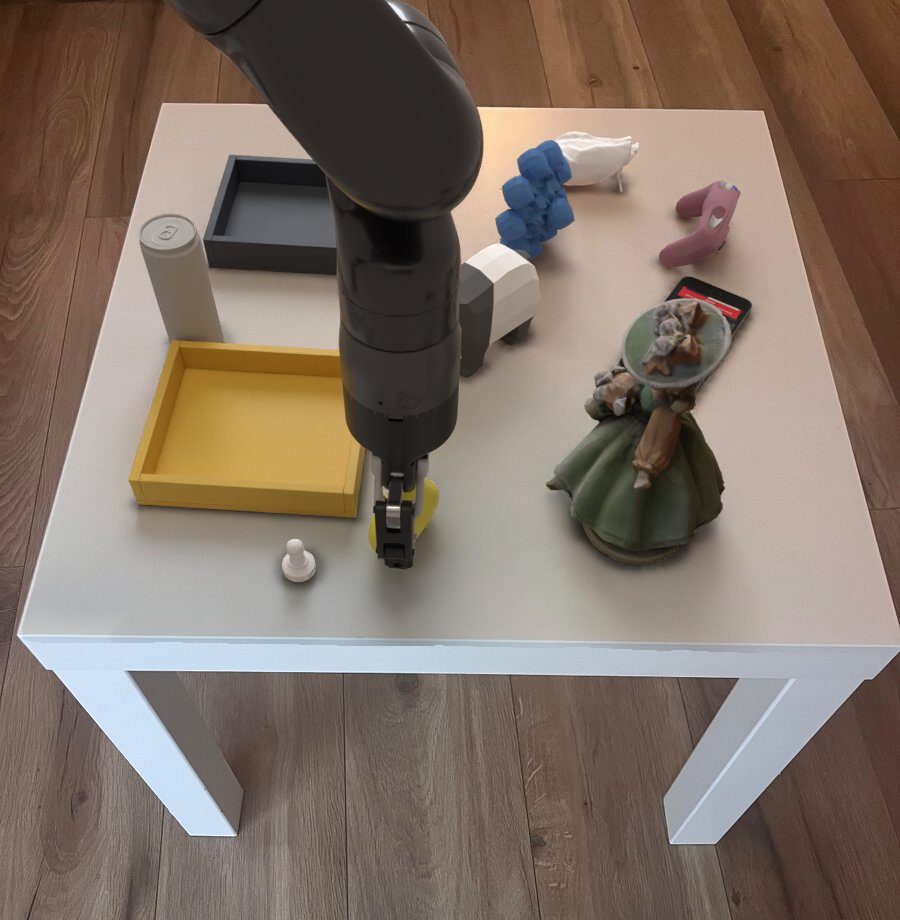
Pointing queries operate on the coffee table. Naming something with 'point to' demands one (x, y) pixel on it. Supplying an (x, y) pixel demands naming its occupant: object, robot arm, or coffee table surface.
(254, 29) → the robot arm
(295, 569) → the chess pawn
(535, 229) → the grapes
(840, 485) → the coffee table surface
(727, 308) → the smartphone
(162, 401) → the yellow tray
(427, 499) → the yellow oblong lump
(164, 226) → the beverage can
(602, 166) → the bird figurine
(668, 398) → the figurine
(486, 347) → the giant panda
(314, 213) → the charcoal tray
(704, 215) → the video game controller
